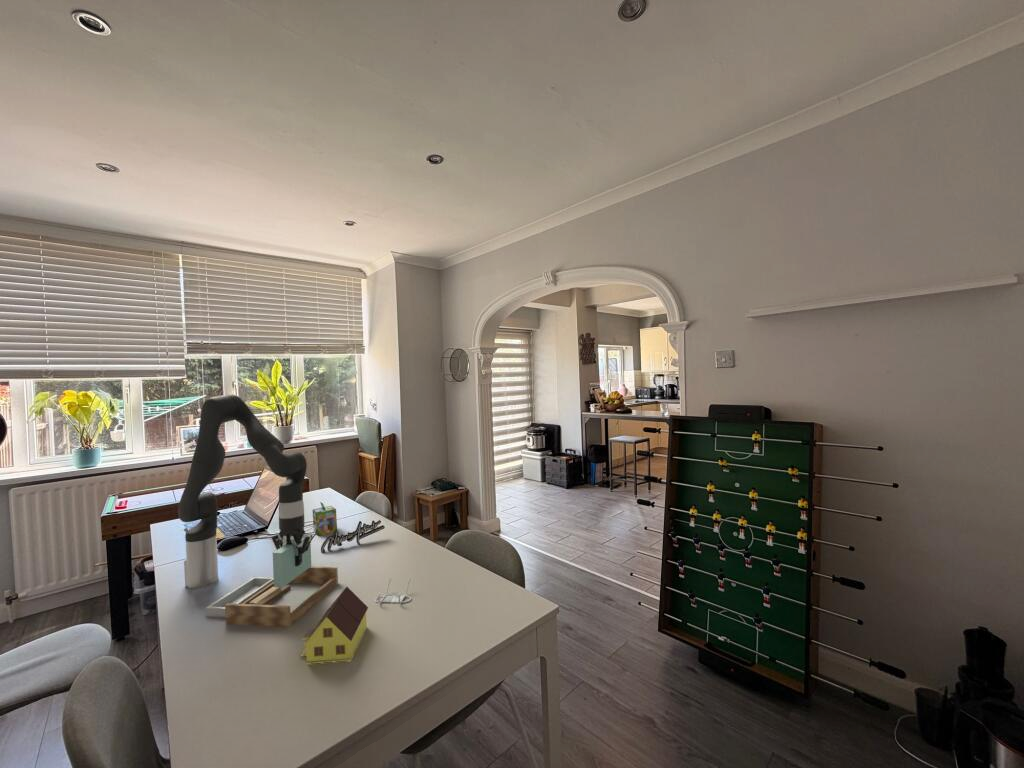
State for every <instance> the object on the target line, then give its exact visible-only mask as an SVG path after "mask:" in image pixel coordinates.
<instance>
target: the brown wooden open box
mask: <svg viewBox="0 0 1024 768" xmlns="http://www.w3.org/2000/svg"><path fill="white" fill-rule="evenodd" d="M338 570H339V569H338V567H337V566H313V565H311V567H309V568H308V569H307V570H305V571H304V572H303V573H301V574H300V575H299V576H297V577H296V578H295V579H293V580H292V581H291V582H289V583H288V584H316V585H318V584H319V585H322V586H321V587H319V588H318V589H317V590H316V591H314V593H313V594H311V595H310V596H309V597H308V598H306V599H305V600H304V601H303V602H302V603H301V604H300V605H298V606H297V607H296V608H295V609H294V610H292V611H291V605H280V604H279V605H275V604H269V605H256V604H249V602H251V601H252V600H254V599H255V598H257V597H258V596H260V595H261V594H263V593H264V592H266V591H268V590H269V589H271V588H272V587H274V581H273V582H272V583H271V584H269V585H268V586H266V587H265V588H263V589H262V590H261V591H259V592H258V593H256V594H255V595H253V596H252V597H250V598H249V599H248V600H246V601H245V602H243V603H242V604H232V603H227V604H226V605H225V616H226V617H225V625H240V626H241V625H242V626H243V625H244V626H260V627H262V626H263V627H280V628H290V627H291V625H293V624H294V623H295V622H296V621H297V620H299V618H301V617H302V616H303V615H304V614H305V613H306V612H308V611H309V610H310V609H311V608H312V607H313V606H314V605H315V604H316V603H318V602H319V601H320V600H321V599H322V598H323V597H324V596H326V594H328V593H329V592H330V591H332V589H333V588H335V586H337V584H338V583H339V575H338V574H339V573H338ZM318 600H319V601H318ZM311 606H312V607H311ZM310 607H311V608H310ZM309 608H310V609H309ZM308 609H309V610H308ZM303 613H304V614H303ZM289 626H290V627H289Z"/></svg>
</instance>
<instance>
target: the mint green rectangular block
mask: <svg viewBox="0 0 1024 768" xmlns="http://www.w3.org/2000/svg"><path fill="white" fill-rule="evenodd" d="M302 543H304V541H303V538H302ZM298 544H299V543H298ZM298 544H297V545H298ZM311 545H312V544H311V543H310V545H309V548H308V550H307V551H306V552H304V553H303V554H302V563H301V564H300V565H299V566H295V550H294V548H293V546H292V545H291V544H290V545H289V544H287V545H285V546H283V547H281V548H280V549H278V550H277V549H275V551H274V552H272V566H273V569H272V570H273V572H272V574H273V578H274V587H282V588H283V587H284V586H285V585H289V584H290V583H289V582H291V581H292V580H293V579H295V578H296V577H297V576H299V575H300V574H301V573H303V572H304V571H305V570H307V569H308V568H309V567H311V566H312V547H311Z"/></svg>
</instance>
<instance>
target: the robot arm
mask: <svg viewBox="0 0 1024 768" xmlns="http://www.w3.org/2000/svg"><path fill="white" fill-rule="evenodd" d="M232 421H236V422H238V423H240V424H241V425H242V426H243V428H244V429H245V432H246V438H247V441H248V443H249V445H250V447H251V448H252V449H253V450H255V452H256V453H258V454H259V455H260V456H262V458H264V460H265V462H266V464H267V466H268V467H269V469H270V471H271V472H272V473H273V474H274V475H276V476H277V477H281V478H286V479H285V481H284V482H283V483H281V484H280V485H279V487H278V528H279V529H278V530H279V533H277V534H275V535H273V536H271V539H272V542H273V544H274V547H275V550H278V549H280V548H281V547H283V546H285V545H287V544H289V545H290V544H291V545H292V546H293V548H294V550H295V566H299V565H300V564H301V563H302V554H303V553H304V552H306V551H307V550H308V548H309V545H310V543H311V542H312V540H313V537H314V535H313V534H307V533H306V530H305V503H304V496H303V495H304V494H303V493H304V491H303V484H304V482H305V476H306V475H307V474H306V472H307V467H308V465H307V464H308V463H307V459H306V457H305V455H304V454H303V453H301V452H298V451H297V452H292V453H291V452H290V453H288V454H284V453H283V452H284V450H285V445H284V444H283V442H282V441H281V440H279V438H277V437H276V436H275V435H274V434H273V433H271V432H270V431H269V430H268V429H267V428H266V427H265V426H264V425H263V424H262V423H261V422H260V420H259V419H258V418H257V416H256V415H255V414H254V412H253V411H252V409H250V408H249V406H248V405H247V404H246V403H245V401H244V400H243V399H242V398H240V396H238V395H236V394H233V393H232V394H231V393H230V394H228V393H227V394H223V395H222V394H221V395H218V396H213V397H208V398H207V399H205V400H204V402H203V404H202V406H201V412H200V419H199V429H198V435H197V440H196V445H195V450H194V452H193V456H192V460H191V463H190V469H189V472H188V473H189V474H188V478H187V480H186V485H185V486H184V489H183V493H182V494H181V497H180V500H179V503H178V507H177V508H178V509H177V515H178V519H179V520H180V521H181V522H183V523H192V522H195V521H196V522H197V521H199V520H200V521H199V522H198V523H197V524H196V525H195V526H193V527H192V528H190V529H189V530H187V531H186V532H185V537H184V538H185V554H186V555H185V556H186V559H184V561H183V566H184V567H183V569H184V571H183V572H184V587H185V586H187V588H188V589H189V588H190V590H197V589H198V588H199V589H203V588H206V587H209V586H212V585H213V584H215V583H217V582H218V581H219V565H218V564H219V561H218V542H217V541H218V539H217V529H218V501H217V497H216V495H215V493H213V492H211V491H208V492H203V491H204V489H206V487H207V486H209V484H210V483H211V482H213V481H214V480H215V478H216V477H217V476H218V475H219V474H220V473H221V471H222V469H223V466H224V462H225V459H226V449H225V447H224V445H223V443H222V442H221V440H220V439H219V431H220V428H221V426H222V424H223V423H224V424H225V423H228V422H232ZM302 538H303V541H304V543H302ZM298 543H299V544H298ZM297 544H298V545H297Z"/></svg>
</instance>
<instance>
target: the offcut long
mask: <svg viewBox="0 0 1024 768" xmlns="http://www.w3.org/2000/svg"><path fill="white" fill-rule="evenodd" d="M290 590H291V585H290V584H287V585H285V586H284V587H283V588H282V587H281V592H280V593H278V594H277V595H275V596H274V597H272V598H271V599H269V600H268V601H267V602H265V603H264V604H262V605H271V604H272V603H273V602H274V601H276V600H277V599H279V598H280V597H282V596H283V595H284V594H286V593H287V592H289V591H290ZM285 592H286V593H285ZM278 597H279V598H278ZM271 602H272V603H271Z"/></svg>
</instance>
